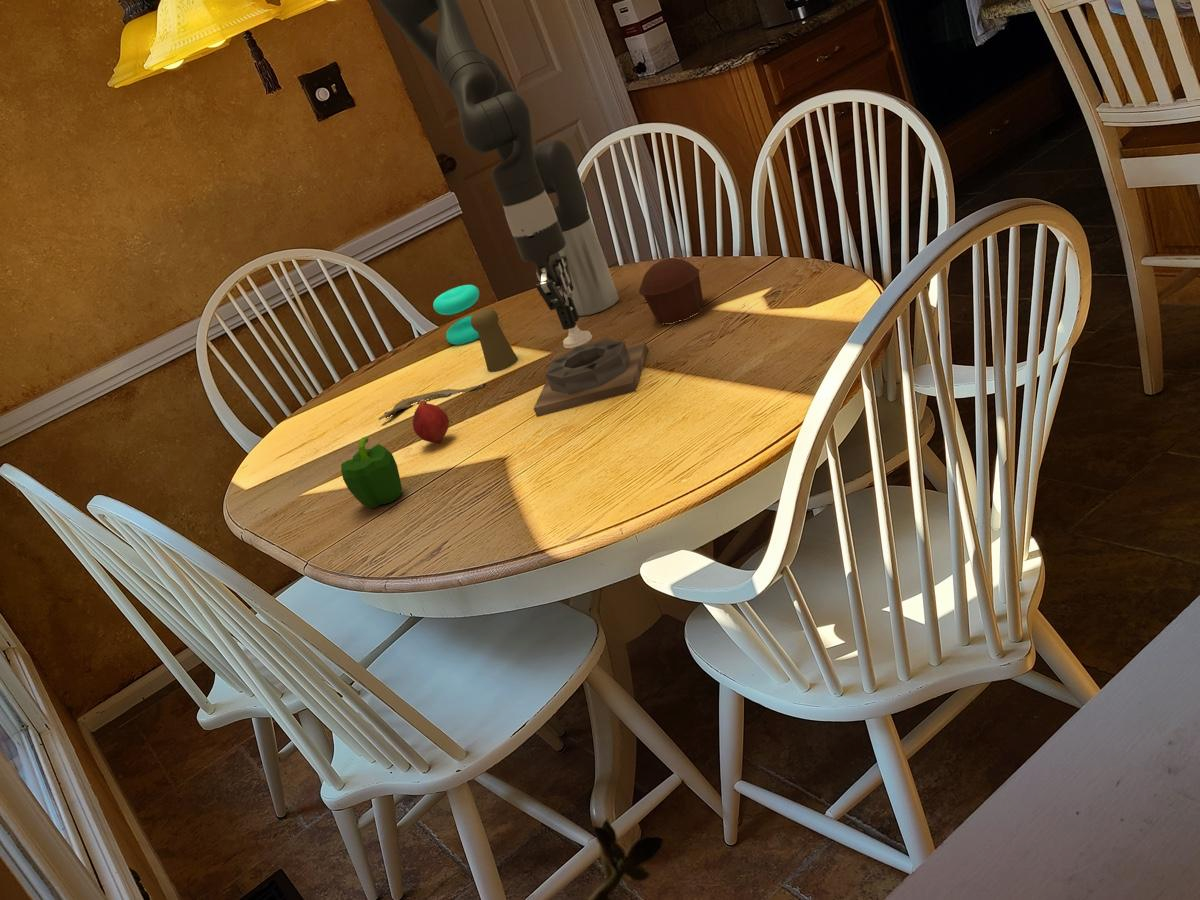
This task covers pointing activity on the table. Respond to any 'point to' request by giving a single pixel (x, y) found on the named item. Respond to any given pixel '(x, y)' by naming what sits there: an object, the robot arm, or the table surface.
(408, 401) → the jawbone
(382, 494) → the bell pepper
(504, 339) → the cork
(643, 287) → the muffin
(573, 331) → the chess piece
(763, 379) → the table surface
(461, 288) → the donuts
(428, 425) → the onion
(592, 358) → the collar socket
